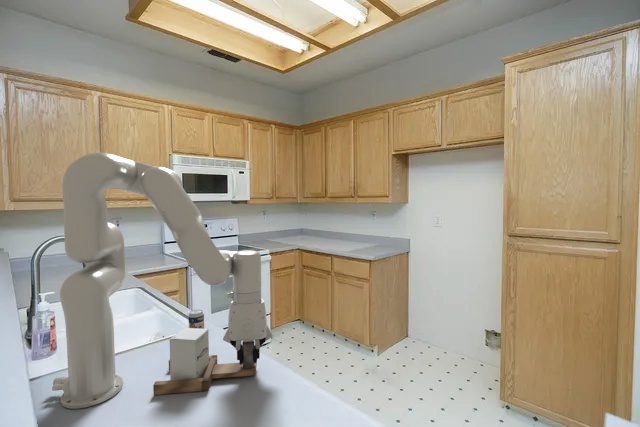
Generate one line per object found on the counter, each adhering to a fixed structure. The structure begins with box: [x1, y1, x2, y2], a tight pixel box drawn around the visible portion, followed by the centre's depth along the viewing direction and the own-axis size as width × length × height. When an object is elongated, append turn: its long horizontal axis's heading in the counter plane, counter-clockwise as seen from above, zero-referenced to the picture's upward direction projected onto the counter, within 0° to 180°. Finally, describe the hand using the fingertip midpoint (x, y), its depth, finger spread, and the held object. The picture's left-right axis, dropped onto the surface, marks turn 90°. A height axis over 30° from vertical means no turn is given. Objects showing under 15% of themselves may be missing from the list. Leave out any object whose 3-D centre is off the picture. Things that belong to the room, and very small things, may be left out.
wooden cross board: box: [152, 340, 258, 396], centre depth 86 cm, size 24×13×9 cm, turn 98°
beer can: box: [187, 309, 205, 329], centre depth 103 cm, size 5×5×12 cm
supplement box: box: [169, 327, 210, 380], centre depth 85 cm, size 7×7×13 cm
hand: (248, 360), depth 88 cm, fingers closed on wooden cross board, 3 cm apart
